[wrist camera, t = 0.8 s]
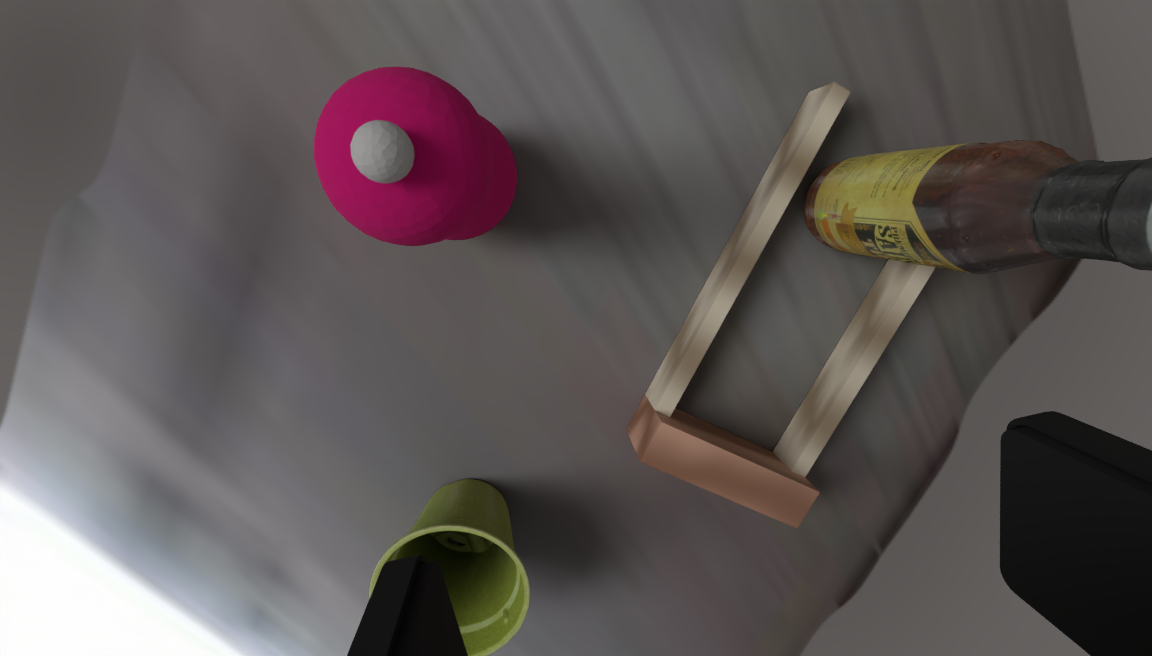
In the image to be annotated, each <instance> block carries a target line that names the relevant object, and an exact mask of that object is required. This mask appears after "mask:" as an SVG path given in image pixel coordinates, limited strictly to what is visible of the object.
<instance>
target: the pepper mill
mask: <svg viewBox="0 0 1152 656" xmlns="http://www.w3.org/2000/svg"><path fill="white" fill-rule="evenodd" d="M314 160H315V164H316V168H317V173H318V176H319V178H320V181H321V184H322V187H323V189H324V191H325V193H326V194H327V196H328V198H329V200H330V201H331V203H332V204H333V206H334V207H335V208H336V210H337V211H338V212H339V213H340V214H341V215H342V216H343V217H344V218H345V219H346V220H347V221H348V222H349V223H351V224H352V225H353V226H355V227H356V228H358V229H359V230H361V231H362V232H363V233H365V234H367V235H369V236H371V237H374V238H376V239H378V240H381V241H385V242H389V243H393V244H398V245H405V246H419V245H426V244H431V243H436V242H440V241H442V240H445V239H448V240H465V239H470V238H474V237H477V236H479V235H482V234H484V233H486V232H487V231H489V230H491V229H492V228H493V227H494V226H496V225H497V224H498V223H499V222H500V221H501V220H502V219H503V217H504V216H505V215H506V213H507V212H508V210H509V208H510V207H511V204H512V202H513V199H514V197H515V192H516V187H517V168H516V162H515V159H514V156H513V152H512V150H511V148H510V146H509V144H508V142H507V140H506V139H505V137H504V136H503V135H502V134H501V132H500V131H499V130H498V129H497V128H496V127H495V126H494V125H493V124H492V123H491V122H489V121H488V120H486V119H485V118H484V117H482V116H481V115H479V114H478V113H477V112H476V110H475V109H474V107H473V106H472V104H471V103H470V102H469V100H468V99H467V98H466V97H465V96H463V95H462V94H461V93H460V92H459V91H458V90H457V89H456V88H454V87H453V86H452V85H450V84H449V83H447V82H445V81H443V80H442V79H440V78H438V77H436V76H434V75H432V74H430V73H428V72H424V71H421V70H417V69H414V68H407V67H384V68H378V69H374V70H370V71H367V72H364V73H362V74H360V75H358V76H356V77H354V78H352V79H350V80H348V81H347V82H346V83H344V84H343V85H342V86H341V87H340V88H339V89H338V90H336V91H335V92H334V93H333V94H332V96H331V98H330V99H329V101H328V102H327V104H326V105H325V107H324V109H323V111H322V113H321V116H320V118H319V120H318V123H317V128H316V133H315V139H314Z"/></svg>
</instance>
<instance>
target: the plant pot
mask: <svg viewBox="0 0 1152 656" xmlns="http://www.w3.org/2000/svg"><path fill="white" fill-rule="evenodd" d="M448 538H452V539H453V540H455V541H457V542H459V543H464V544H465V545H463V546H459V545H455V544H453V543H450V542H449V541H448ZM419 554H422V555H424V556H425V558H426V559H427V562H432V561H437V562H438V564H439V566H440V568H441V571H442V574H443V578H444V581H445V584H446V587H447V590H448V594H449V597H450V600H451V603H452V606H453V610H454V613H455V616H456V619H457V622H458V625H459V629H460V632H461V635H462V638H463V641H464V645H465V648H466V651H467V654H468V656H487V655H489V654H491V653H492V652H494V651H496V650H498V649H499V648H501V647H502V646H503V645H505V644H506V643H507V642H508V641H509V640H510V639H511V638H512V637H513V636H514V635H515V634H516V632H517V631H518V630H519V628H520V627H521V625H522V623H523V621H524V619H525V617H526V614H527V611H528V608H529V601H530V586H529V580H528V575H527V572H526V569H525V567H524V565H523V563H522V561H521V559H520V558H519V556H518V555H517V553H516V552H515V549H514V542H513V536H512V530H511V523H510V516H509V510H508V507H507V504H506V502H505V500H504V498H503V496H502V495H501V494H500V492H499V491H498V490H496V489H495V488H494V487H492V486H491V485H489V484H487V483H485V482H482V481H479V480H474V479H463V480H460V481H457V482H454V483H451V484H448V485H445V486H443V487H441V488H440V489H439V490H438V491H437V492H436V493H435V494H434V495H433V496H432V498H431V499H430V501H429V502H428V504H427V505H426V507H425V509H424V510H423V512H422V514H421V515H420V517H419V519H418V520H417V522H416V523H415V525H414V526H413V528H412V529H411V531H410V532H409V534H407V535H405V536H404V537H402V538H401V539H399V540H398V541H397V542H395V543H394V544H393V545H392V546H391V547H390V548H389V549H388V550H387V551H386V552H385V554H384V555H383V556H382V558H381V559H380V561H379V563H378V564H377V566H376V568H375V571H374V573H373V576H372V579H371V583H370V589H369V599H370V597H371V594H372V592H373V589H374V587H375V584H376V582H377V579H378V577H379V574H380V572H381V569H382V567H383V565H384V564H385V563H386V562H388V561H393V560H397V559H402V558H406V557H410V556H415V555H419Z"/></svg>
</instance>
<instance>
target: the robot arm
mask: <svg viewBox="0 0 1152 656" xmlns="http://www.w3.org/2000/svg"><path fill="white" fill-rule="evenodd" d="M1000 472H1001V474H1000V476H1001V477H1000V479H1001V480H1000V482H1001V483H1000V570H1001V573H1002V576H1003V578H1004V580H1005V582H1006V583H1007V585H1008V586H1009V587H1010V589H1011V590H1012V591H1013V592H1014V593H1015V594H1017V595H1018V596H1019V597H1020V598H1021V599H1023V600H1024V601H1025V602H1026V603H1028V604H1029V605H1030V606H1031V607H1032V608H1034V609H1035V610H1036V611H1037V612H1039V613H1040V614H1041V615H1042V616H1043V617H1045V618H1046V619H1047V620H1048V621H1049V622H1051V623H1052V624H1053V625H1054V626H1055V627H1057V628H1058V629H1059V630H1060V631H1062V632H1063V633H1064V634H1065V635H1066V636H1068V637H1069V638H1070V639H1071V640H1073V641H1074V642H1075V643H1076V644H1077V645H1079V646H1080V647H1081V648H1082V649H1083V650H1085V651H1086V652H1087V653H1088V654H1090V655H1091V656H1152V451H1151V450H1149V449H1146V448H1143V447H1142V446H1139V445H1137V444H1134V443H1132V442H1129V441H1127V440H1124V439H1122V438H1120V437H1117V436H1115V435H1112V434H1110V433H1108V432H1105V431H1102V430H1100V429H1097V428H1095V427H1093V426H1091V425H1088V424H1085V423H1083V422H1081V421H1078V420H1076V419H1073V418H1071V417H1069V416H1066V415H1064V414H1061V413H1058V412H1054V411H1052V412H1051V411H1050V412H1043V413H1039V414H1035V415H1030V416H1026V417H1021V418H1017V419H1014V420H1012V421H1011V422H1010V423H1009V424H1008V426H1007V430H1006V431H1005V432H1004V433H1003V434H1002V436H1001V471H1000ZM347 656H468V654H467V651H466V648H465V645H464V641H463V638H462V635H461V632H460V629H459V625H458V622H457V619H456V616H455V613H454V610H453V606H452V603H451V600H450V597H449V594H448V590H447V587H446V584H445V581H444V578H443V574H442V571H441V568H440V566H439V564H438V562H437V561H432V562H427V559H426V558H425V556H424V555H422V554H419V555H415V556H410V557H406V558H402V559H397V560H393V561H388V562H386V563H385V564H384V565H383V567H382V569H381V572H380V574H379V577H378V579H377V582H376V584H375V587H374V589H373V592H372V594H371V597H370V599H369V602H368V604H367V607H366V609H365V612H364V615H363V617H362V620H361V622H360V625H359V627H358V630H357V632H356V635H355V637H354V640H353V642H352V645H351V647H350V650H349V652H348V655H347Z"/></svg>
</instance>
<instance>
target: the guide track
mask: <svg viewBox="0 0 1152 656" xmlns="http://www.w3.org/2000/svg"><path fill="white" fill-rule="evenodd" d="M849 94H850V91H848V90H847V89H845V88H843V87H842V86H840V85H839V84H837V83H835V82H833V83H831V84H828V85H826V86H823V87H821V88H818V89H815V90H813V91H810V92H809V93H808V95H807V97H806V99H805V100H804V102H803V104H802V106H801V108H800V110H799V111H798V113H797V115H796V117H795V119H794V121H793V123H792V124H791V126H790V128H789V130H788V132H787V134H786V135H785V137H784V139H783V141H782V143H781V145H780V147H779V148H778V150H777V152H776V154H775V156H774V158H773V159H772V161H771V163H770V165H769V167H768V169H767V171H766V172H765V174H764V176H763V178H762V180H761V182H760V183H759V185H758V187H757V189H756V191H755V193H754V195H753V196H752V198H751V200H750V202H749V204H748V206H747V207H746V209H745V211H744V213H743V215H742V217H741V219H740V220H739V222H738V224H737V226H736V228H735V230H734V231H733V233H732V235H731V237H730V239H729V241H728V243H727V244H726V246H725V248H724V250H723V252H722V254H721V255H720V257H719V259H718V261H717V263H716V265H715V267H714V268H713V270H712V272H711V274H710V276H709V278H708V279H707V281H706V283H705V285H704V287H703V289H702V291H701V292H700V294H699V296H698V298H697V300H696V302H695V303H694V305H693V307H692V309H691V311H690V313H689V314H688V316H687V318H686V320H685V322H684V324H683V326H682V327H681V329H680V331H679V333H678V335H677V337H676V338H675V340H674V342H673V344H672V346H671V348H670V350H669V351H668V353H667V355H666V357H665V359H664V361H663V362H662V364H661V366H660V368H659V370H658V372H657V374H656V375H655V377H654V379H653V381H652V383H651V385H650V386H649V388H648V390H647V392H646V394H645V396H644V398H643V399H642V401H641V403H640V405H639V407H638V409H637V410H636V412H635V414H634V416H633V418H632V420H631V422H630V423H629V425H628V427H627V429H626V430H627V432H628V435H629V437H630V439H631V442H632V444H633V447H634V449H635V451H636V454H637V456H638V458H639V461H640V462H642V463H644V464H647V465H649V466H651V467H654V468H656V469H658V470H661V471H663V472H666V473H668V474H670V475H673V476H675V477H677V478H680V479H682V480H684V481H687V482H689V483H691V484H694V485H696V486H698V487H701V488H703V489H706V490H708V491H710V492H713V493H715V494H717V495H720V496H722V497H724V498H727V499H729V500H731V501H734V502H736V503H738V504H741V505H743V506H746V507H748V508H750V509H753V510H755V511H757V512H760V513H762V514H764V515H767V516H769V517H771V518H774V519H776V520H778V521H781V522H783V523H786V524H788V525H790V526H793V527H795V528H798V526H799V525H800V523H801V522H802V520H803V518H804V517H805V515H806V514H807V512H808V511H809V509H810V507H811V506H812V504H813V503H814V501H815V499H816V498H817V496H818V495H819V493H820V492H819V491H818V490H817V489H816V488H815V487H814V486H813V485H812V484H811V483H810V482H809V481H808V480H807V479H806V478H805V477H806V475H807V474H808V472H809V470H810V469H811V467H812V466H813V464H814V462H815V461H816V459H817V458H818V456H819V454H820V453H821V451H822V450H823V448H824V446H825V445H826V443H827V441H828V440H829V438H830V437H831V435H832V433H833V432H834V430H835V429H836V427H837V425H838V424H839V422H840V421H841V419H842V417H843V416H844V414H845V412H846V411H847V409H848V408H849V406H850V404H851V403H852V401H853V400H854V398H855V396H856V395H857V393H858V392H859V390H860V388H861V387H862V385H863V383H864V382H865V380H866V379H867V377H868V375H869V374H870V372H871V371H872V369H873V367H874V366H875V364H876V363H877V361H878V359H879V358H880V356H881V354H882V353H883V351H884V350H885V348H886V346H887V345H888V343H889V342H890V340H891V338H892V337H893V335H894V334H895V332H896V330H897V329H898V327H899V326H900V324H901V322H902V321H903V319H904V317H905V316H906V314H907V313H908V311H909V309H910V308H911V306H912V305H913V303H914V301H915V300H916V298H917V297H918V295H919V293H920V292H921V290H922V288H923V287H924V285H925V284H926V282H927V280H928V279H929V277H930V276H931V274H932V272H933V271H934V269H935V268H936V267H932V266H926V265H918V264H912V263H907V262H901V261H895V260H888V261H887V263H886V265H885V266H884V268H883V270H882V271H881V273H880V275H879V276H878V278H877V280H876V281H875V283H874V285H873V286H872V288H871V290H870V291H869V293H868V294H867V296H866V298H865V299H864V301H863V303H862V304H861V306H860V308H859V309H858V311H857V313H856V314H855V316H854V318H853V319H852V321H851V323H850V324H849V326H848V328H847V329H846V331H845V333H844V334H843V336H842V338H841V339H840V341H839V343H838V344H837V346H836V348H835V349H834V351H833V353H832V354H831V356H830V358H829V359H828V361H827V363H826V364H825V366H824V368H823V369H822V371H821V373H820V374H819V376H818V377H817V379H816V381H815V382H814V384H813V386H812V387H811V389H810V391H809V392H808V394H807V396H806V397H805V399H804V401H803V402H802V404H801V406H800V407H799V409H798V411H797V412H796V414H795V416H794V417H793V419H792V421H791V422H790V424H789V426H788V427H787V429H786V431H785V432H784V434H783V436H782V437H781V439H780V441H779V442H778V444H777V446H776V447H775V449H774V451H773V452H772V451H769V450H767V449H765V448H763V447H760V446H758V445H756V444H754V443H752V442H749V441H747V440H745V439H743V438H741V437H738V436H736V435H734V434H732V433H729V432H727V431H725V430H723V429H721V428H718V427H716V426H714V425H712V424H710V423H707V422H705V421H703V420H701V419H698V418H696V417H694V416H692V415H690V414H687V413H685V412H683V411H681V410H679V409H676V408H675V407H676V405H677V403H678V402H679V400H680V398H681V396H682V394H683V393H684V391H685V389H686V387H687V385H688V384H689V382H690V380H691V378H692V376H693V375H694V373H695V371H696V369H697V367H698V366H699V364H700V362H701V360H702V358H703V357H704V355H705V353H706V351H707V349H708V348H709V346H710V344H711V342H712V340H713V339H714V337H715V335H716V333H717V332H718V330H719V328H720V326H721V324H722V323H723V321H724V319H725V317H726V315H727V314H728V312H729V310H730V308H731V306H732V305H733V303H734V301H735V299H736V297H737V296H738V294H739V292H740V290H741V288H742V287H743V285H744V283H745V281H746V279H747V278H748V276H749V274H750V272H751V270H752V269H753V267H754V265H755V263H756V261H757V260H758V258H759V256H760V254H761V252H762V251H763V249H764V247H765V245H766V243H767V242H768V240H769V238H770V236H771V234H772V233H773V231H774V229H775V227H776V225H777V224H778V222H779V220H780V218H781V216H782V215H783V213H784V211H785V209H786V207H787V206H788V204H789V202H790V200H791V198H792V197H793V195H794V193H795V191H796V189H797V188H798V186H799V184H800V182H801V180H802V179H803V177H804V175H805V173H806V171H807V170H808V168H809V166H810V164H811V162H812V161H813V159H814V157H815V155H816V153H817V152H818V150H819V148H820V146H821V144H822V143H823V141H824V139H825V137H826V135H827V134H828V132H829V130H830V128H831V126H832V125H833V123H834V121H835V119H836V117H837V116H838V114H839V112H840V110H841V108H842V107H843V105H844V103H845V101H846V99H847V98H848V96H849Z"/></svg>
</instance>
